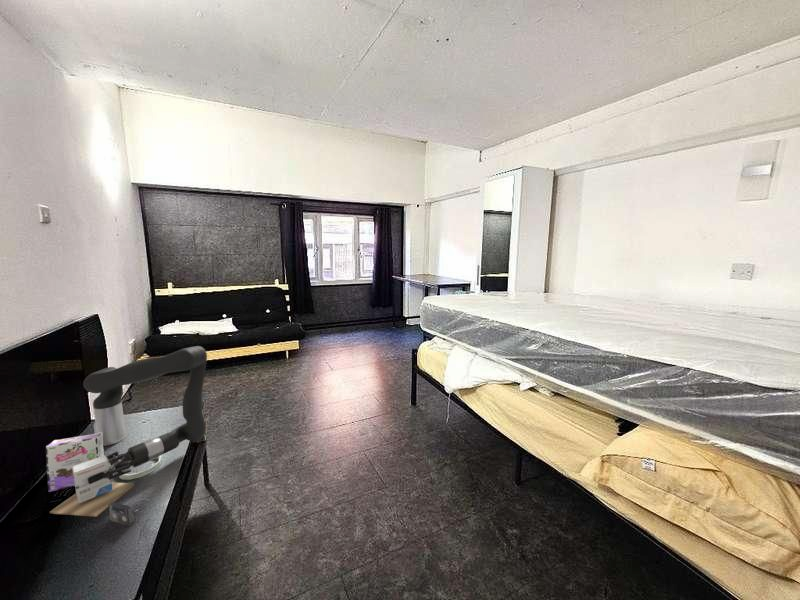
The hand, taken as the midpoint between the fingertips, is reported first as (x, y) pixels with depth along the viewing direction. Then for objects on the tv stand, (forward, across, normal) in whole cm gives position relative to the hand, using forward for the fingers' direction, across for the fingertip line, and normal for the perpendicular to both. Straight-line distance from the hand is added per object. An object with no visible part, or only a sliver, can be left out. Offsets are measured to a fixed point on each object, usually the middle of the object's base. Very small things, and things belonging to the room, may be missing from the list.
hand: (85, 477), depth 107 cm
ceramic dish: (-16, -6, +9) cm, 20 cm away
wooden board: (-1, 0, +9) cm, 9 cm away
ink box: (-2, 0, +8) cm, 8 cm away
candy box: (0, -14, +9) cm, 17 cm away
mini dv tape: (-3, +20, +9) cm, 22 cm away
